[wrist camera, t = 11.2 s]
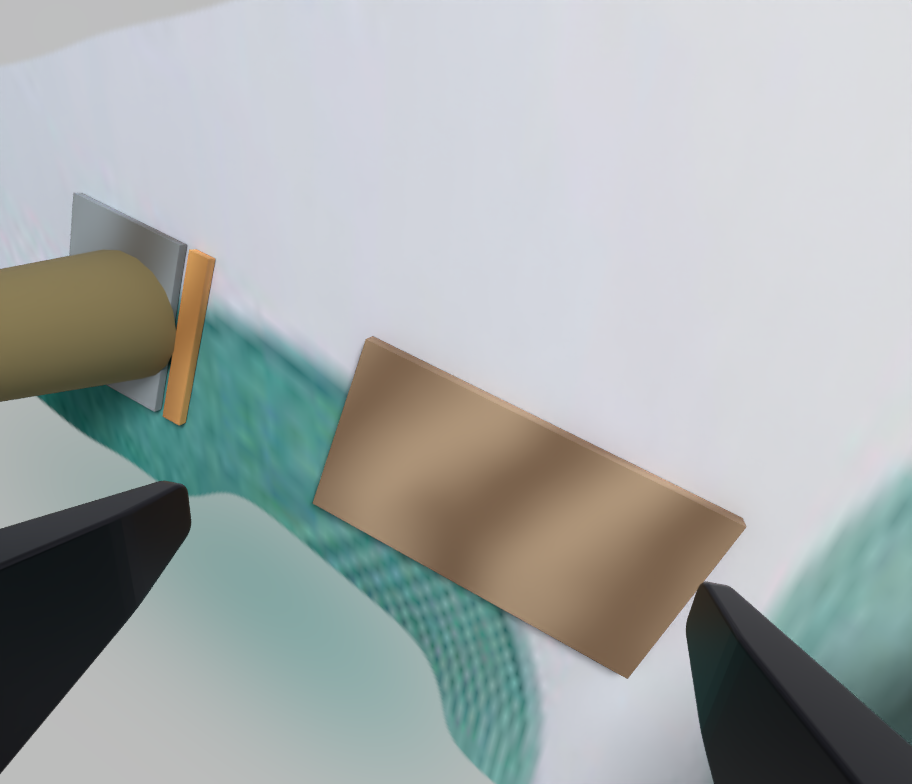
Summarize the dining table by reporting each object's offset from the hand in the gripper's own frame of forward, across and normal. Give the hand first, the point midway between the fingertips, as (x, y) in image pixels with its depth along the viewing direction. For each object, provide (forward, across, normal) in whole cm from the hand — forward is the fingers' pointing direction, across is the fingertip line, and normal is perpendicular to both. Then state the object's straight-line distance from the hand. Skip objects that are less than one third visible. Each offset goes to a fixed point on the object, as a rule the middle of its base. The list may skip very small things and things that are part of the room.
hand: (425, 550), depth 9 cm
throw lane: (+12, +7, +4) cm, 14 cm away
